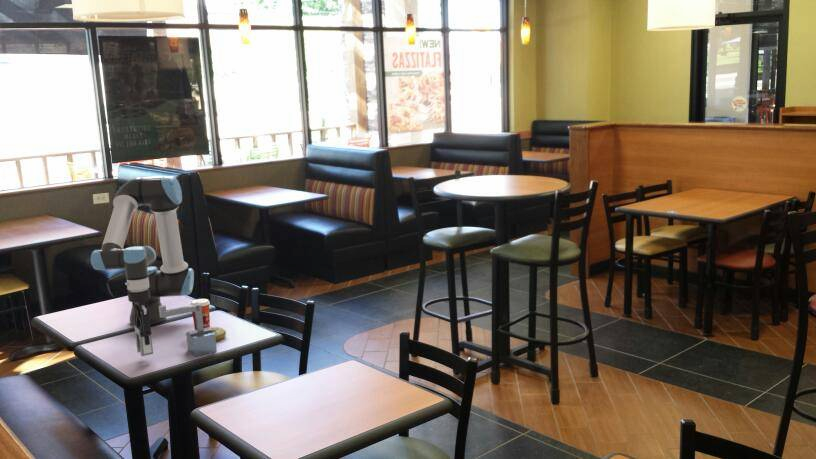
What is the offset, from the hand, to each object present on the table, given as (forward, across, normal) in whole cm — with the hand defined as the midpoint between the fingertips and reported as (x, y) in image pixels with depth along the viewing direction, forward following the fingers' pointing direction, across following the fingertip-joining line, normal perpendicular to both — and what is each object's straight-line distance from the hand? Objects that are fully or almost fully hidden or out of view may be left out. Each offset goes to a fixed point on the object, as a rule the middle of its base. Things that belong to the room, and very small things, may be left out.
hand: (145, 349), depth 271 cm
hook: (+1, 0, 0) cm, 1 cm away
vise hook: (+4, +3, +15) cm, 16 cm away
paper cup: (+4, -17, +27) cm, 32 cm away
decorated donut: (+4, -9, +28) cm, 30 cm away
